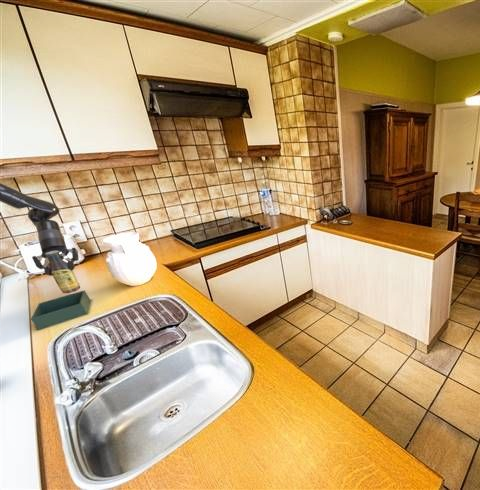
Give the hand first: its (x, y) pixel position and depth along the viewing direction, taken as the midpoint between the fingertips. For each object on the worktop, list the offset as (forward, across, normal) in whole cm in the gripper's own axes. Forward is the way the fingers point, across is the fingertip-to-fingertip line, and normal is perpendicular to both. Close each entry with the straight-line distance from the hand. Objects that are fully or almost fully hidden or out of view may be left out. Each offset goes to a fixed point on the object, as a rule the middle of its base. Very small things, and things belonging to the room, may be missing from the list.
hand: (61, 272), depth 119 cm
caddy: (+20, -2, +1) cm, 20 cm away
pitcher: (+12, +24, +9) cm, 28 cm away
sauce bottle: (+6, 0, +9) cm, 11 cm away
